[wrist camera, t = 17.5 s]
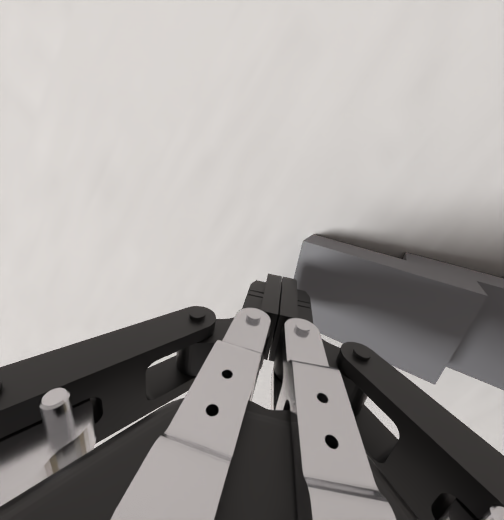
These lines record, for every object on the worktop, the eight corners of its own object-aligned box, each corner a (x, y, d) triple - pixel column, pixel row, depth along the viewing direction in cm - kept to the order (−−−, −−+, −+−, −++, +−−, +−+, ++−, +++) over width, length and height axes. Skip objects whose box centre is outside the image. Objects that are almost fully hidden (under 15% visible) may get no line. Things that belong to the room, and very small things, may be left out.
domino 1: (295, 303, 17) (430, 359, 14) (284, 317, 15) (434, 384, 12) (313, 234, 15) (475, 279, 12) (303, 240, 13) (487, 295, 10)
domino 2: (376, 321, 17) (534, 381, 13) (374, 337, 15) (554, 410, 12) (405, 252, 15) (597, 303, 11) (407, 261, 13) (632, 324, 10)
